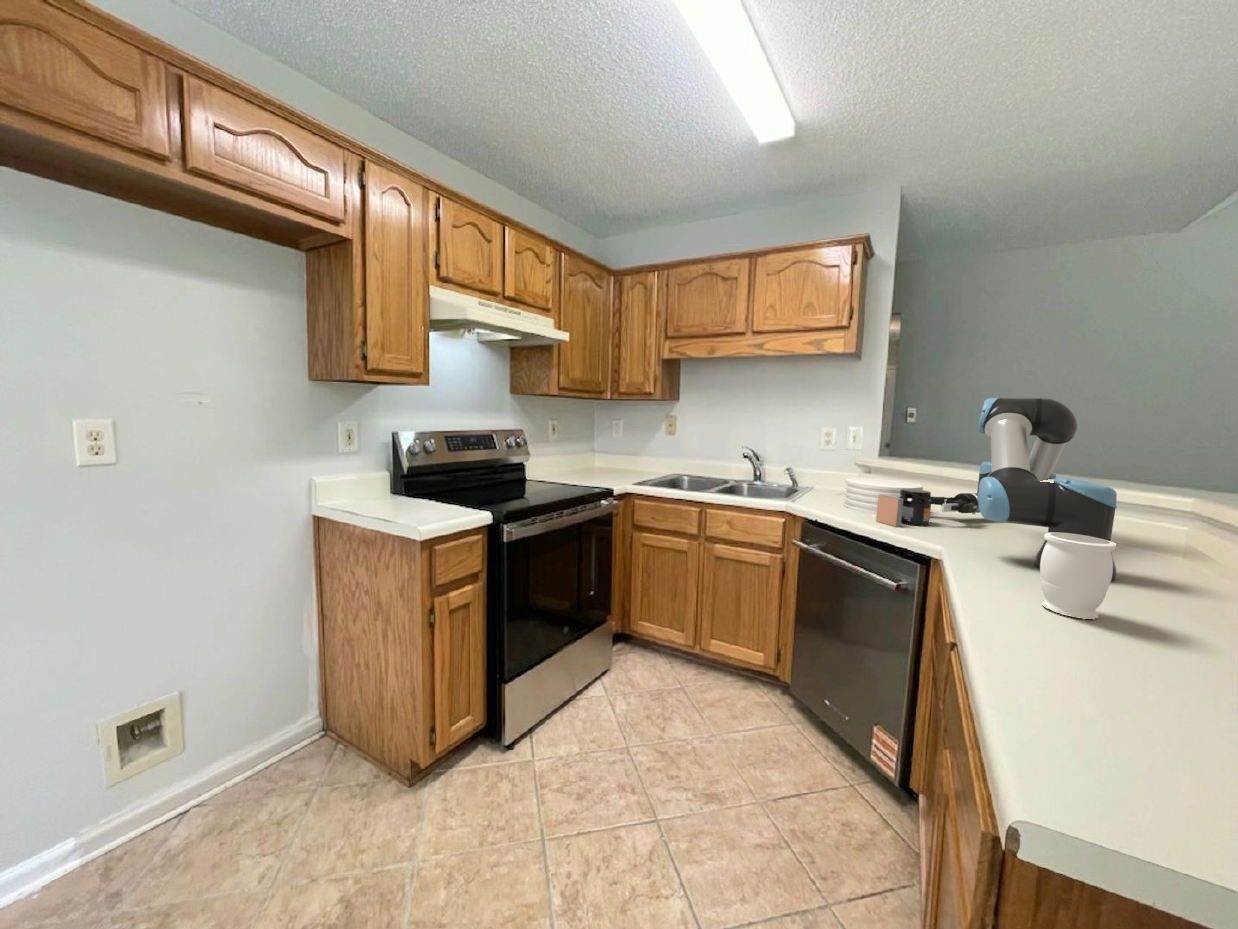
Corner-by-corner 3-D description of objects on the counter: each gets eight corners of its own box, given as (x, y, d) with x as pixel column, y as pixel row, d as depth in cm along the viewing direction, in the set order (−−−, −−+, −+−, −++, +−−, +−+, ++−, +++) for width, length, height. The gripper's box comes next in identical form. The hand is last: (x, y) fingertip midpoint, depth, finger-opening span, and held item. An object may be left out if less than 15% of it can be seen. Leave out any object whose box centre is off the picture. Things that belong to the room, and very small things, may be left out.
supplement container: (934, 524, 176) (938, 491, 175) (920, 527, 170) (924, 493, 169) (904, 519, 184) (907, 487, 183) (889, 521, 178) (893, 489, 177)
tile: (879, 521, 178) (882, 494, 177) (900, 527, 170) (903, 498, 169) (875, 521, 178) (878, 494, 177) (896, 527, 169) (898, 499, 168)
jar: (1113, 628, 90) (1125, 548, 88) (1040, 614, 95) (1050, 539, 94) (1096, 609, 99) (1106, 537, 97) (1030, 597, 104) (1039, 529, 103)
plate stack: (935, 518, 189) (938, 489, 188) (863, 515, 189) (865, 486, 188) (895, 504, 217) (898, 479, 216) (832, 502, 217) (834, 476, 216)
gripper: (1002, 520, 173) (957, 521, 167) (938, 506, 197) (896, 507, 191) (1004, 499, 173) (959, 500, 166) (940, 488, 196) (898, 488, 190)
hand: (925, 504), depth 179 cm, fingers open, 13 cm apart
